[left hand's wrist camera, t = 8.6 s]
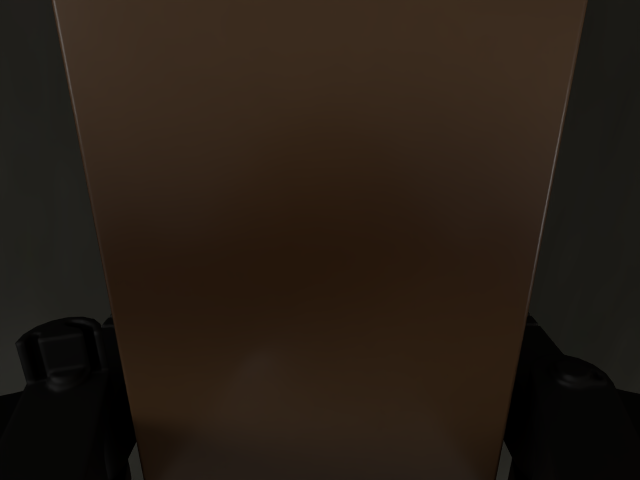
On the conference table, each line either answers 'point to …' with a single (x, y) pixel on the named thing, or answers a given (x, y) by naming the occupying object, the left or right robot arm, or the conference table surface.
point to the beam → (319, 223)
